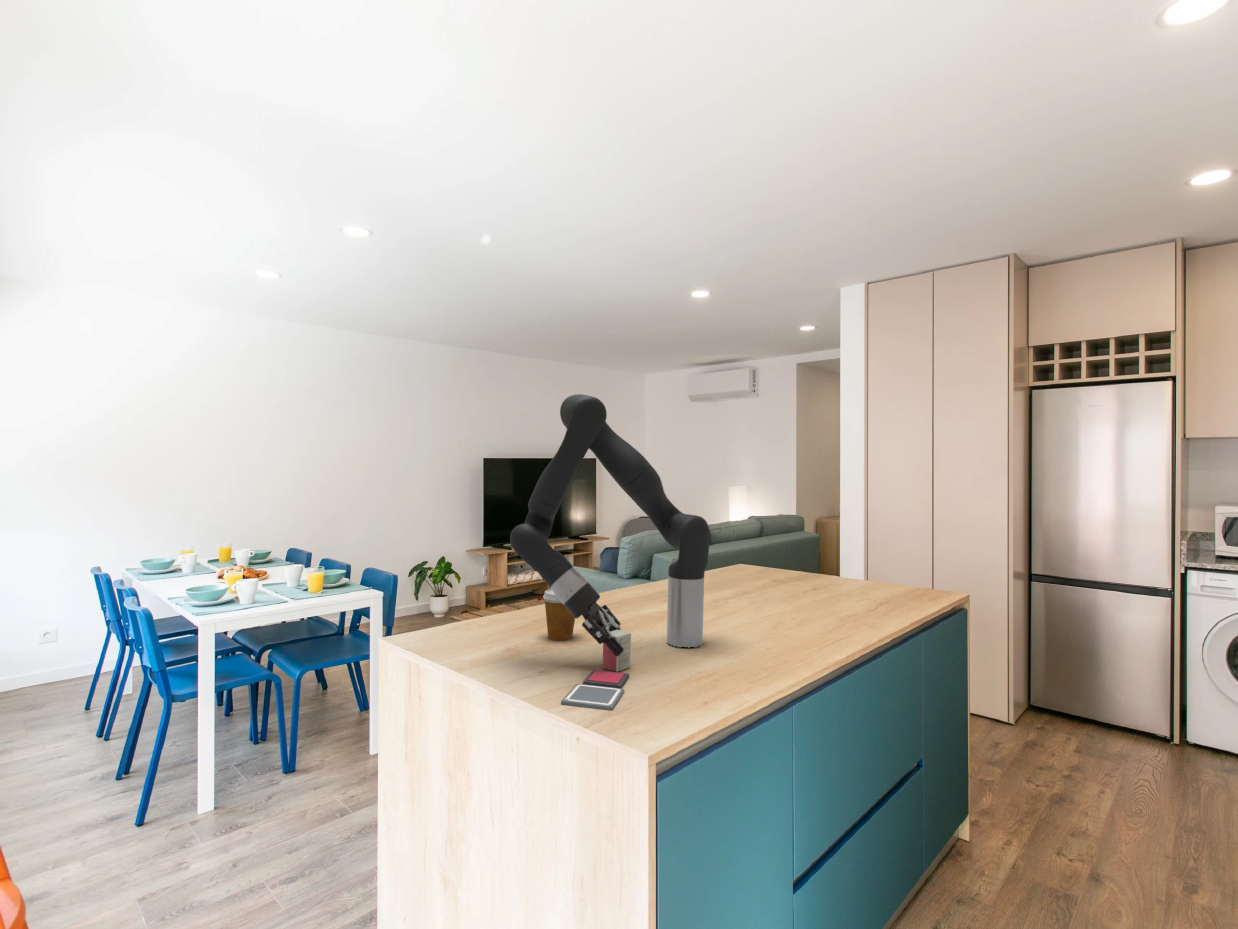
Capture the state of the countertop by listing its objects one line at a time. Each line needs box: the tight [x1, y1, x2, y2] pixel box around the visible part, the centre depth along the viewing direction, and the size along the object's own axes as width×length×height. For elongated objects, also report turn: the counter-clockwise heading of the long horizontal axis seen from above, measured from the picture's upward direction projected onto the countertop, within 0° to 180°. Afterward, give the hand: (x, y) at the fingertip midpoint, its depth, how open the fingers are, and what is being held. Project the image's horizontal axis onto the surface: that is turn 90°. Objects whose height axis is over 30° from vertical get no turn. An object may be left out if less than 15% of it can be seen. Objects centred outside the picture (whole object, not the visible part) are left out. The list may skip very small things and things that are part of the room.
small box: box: [602, 629, 632, 672], centre depth 143 cm, size 5×4×8 cm
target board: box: [560, 683, 625, 711], centre depth 125 cm, size 10×10×1 cm
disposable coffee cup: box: [542, 588, 576, 642], centre depth 167 cm, size 10×10×12 cm
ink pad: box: [582, 669, 630, 689], centre depth 134 cm, size 8×8×1 cm
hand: (624, 649), depth 143 cm, fingers closed on small box, 6 cm apart
